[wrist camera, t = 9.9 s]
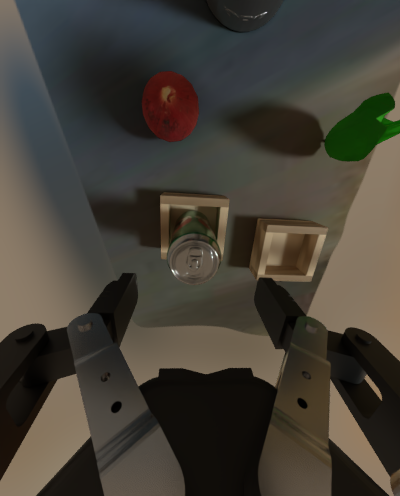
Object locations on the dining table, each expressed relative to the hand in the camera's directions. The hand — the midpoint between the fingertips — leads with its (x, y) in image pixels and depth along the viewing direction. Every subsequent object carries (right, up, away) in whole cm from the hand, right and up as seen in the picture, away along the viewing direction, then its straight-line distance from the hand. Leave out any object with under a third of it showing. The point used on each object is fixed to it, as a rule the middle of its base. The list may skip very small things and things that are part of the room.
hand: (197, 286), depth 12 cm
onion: (-3, +18, +11) cm, 22 cm away
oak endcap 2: (+13, +3, +18) cm, 22 cm away
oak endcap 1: (-1, +6, +16) cm, 17 cm away
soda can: (-1, +6, +15) cm, 16 cm away
